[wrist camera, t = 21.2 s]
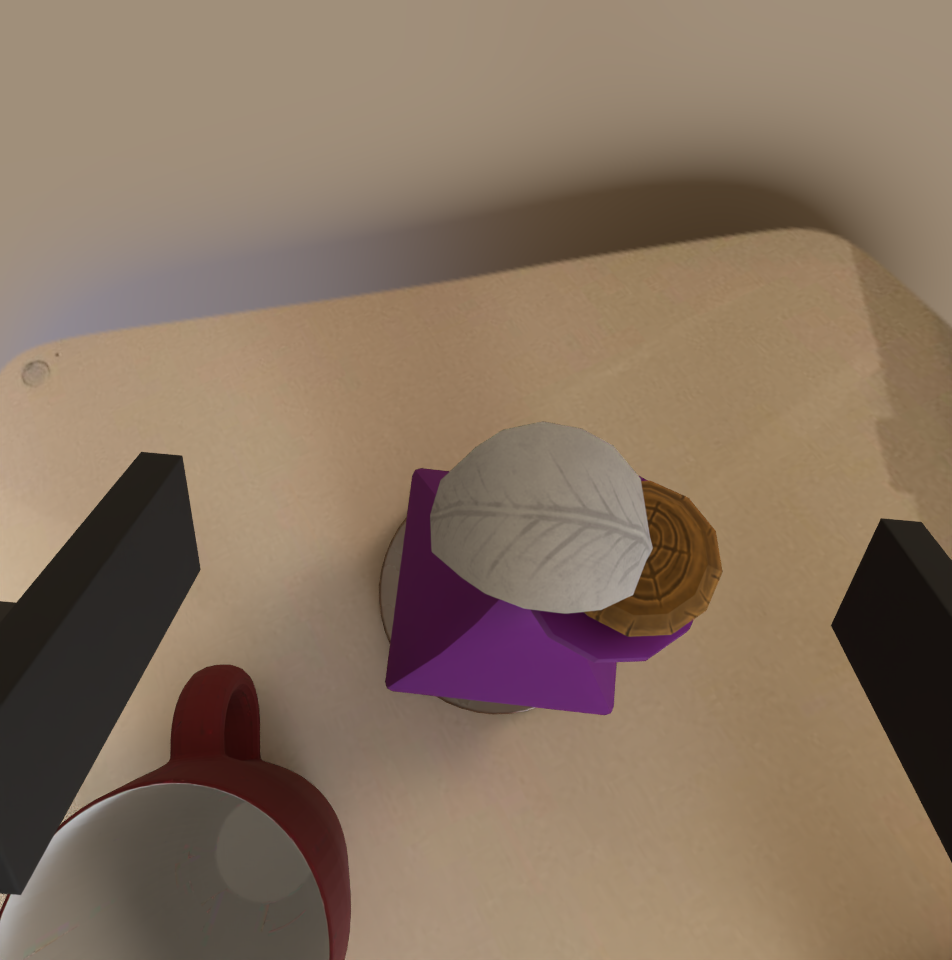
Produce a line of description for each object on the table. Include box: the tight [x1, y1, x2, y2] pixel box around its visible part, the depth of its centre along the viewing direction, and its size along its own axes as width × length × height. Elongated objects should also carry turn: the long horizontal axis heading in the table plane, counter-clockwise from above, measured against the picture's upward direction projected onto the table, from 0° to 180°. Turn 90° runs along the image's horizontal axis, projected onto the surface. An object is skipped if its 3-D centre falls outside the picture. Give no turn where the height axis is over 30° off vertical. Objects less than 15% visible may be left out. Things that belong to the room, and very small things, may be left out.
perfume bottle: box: [385, 422, 722, 715], centre depth 19 cm, size 8×8×18 cm
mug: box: [0, 665, 351, 960], centre depth 22 cm, size 11×8×10 cm
